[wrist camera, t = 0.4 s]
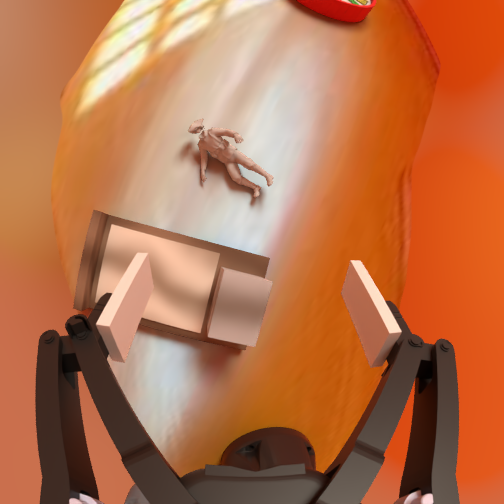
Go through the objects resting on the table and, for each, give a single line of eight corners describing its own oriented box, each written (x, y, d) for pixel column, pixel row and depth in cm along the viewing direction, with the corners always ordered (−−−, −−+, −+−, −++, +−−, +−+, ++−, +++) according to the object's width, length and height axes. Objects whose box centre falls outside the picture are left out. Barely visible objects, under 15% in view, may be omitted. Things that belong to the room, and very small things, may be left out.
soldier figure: (240, 212, 36) (165, 159, 30) (244, 192, 39) (177, 142, 34) (283, 176, 31) (202, 111, 26) (283, 158, 34) (211, 100, 29)
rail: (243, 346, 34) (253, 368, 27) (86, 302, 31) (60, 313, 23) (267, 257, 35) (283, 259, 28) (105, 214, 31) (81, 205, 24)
